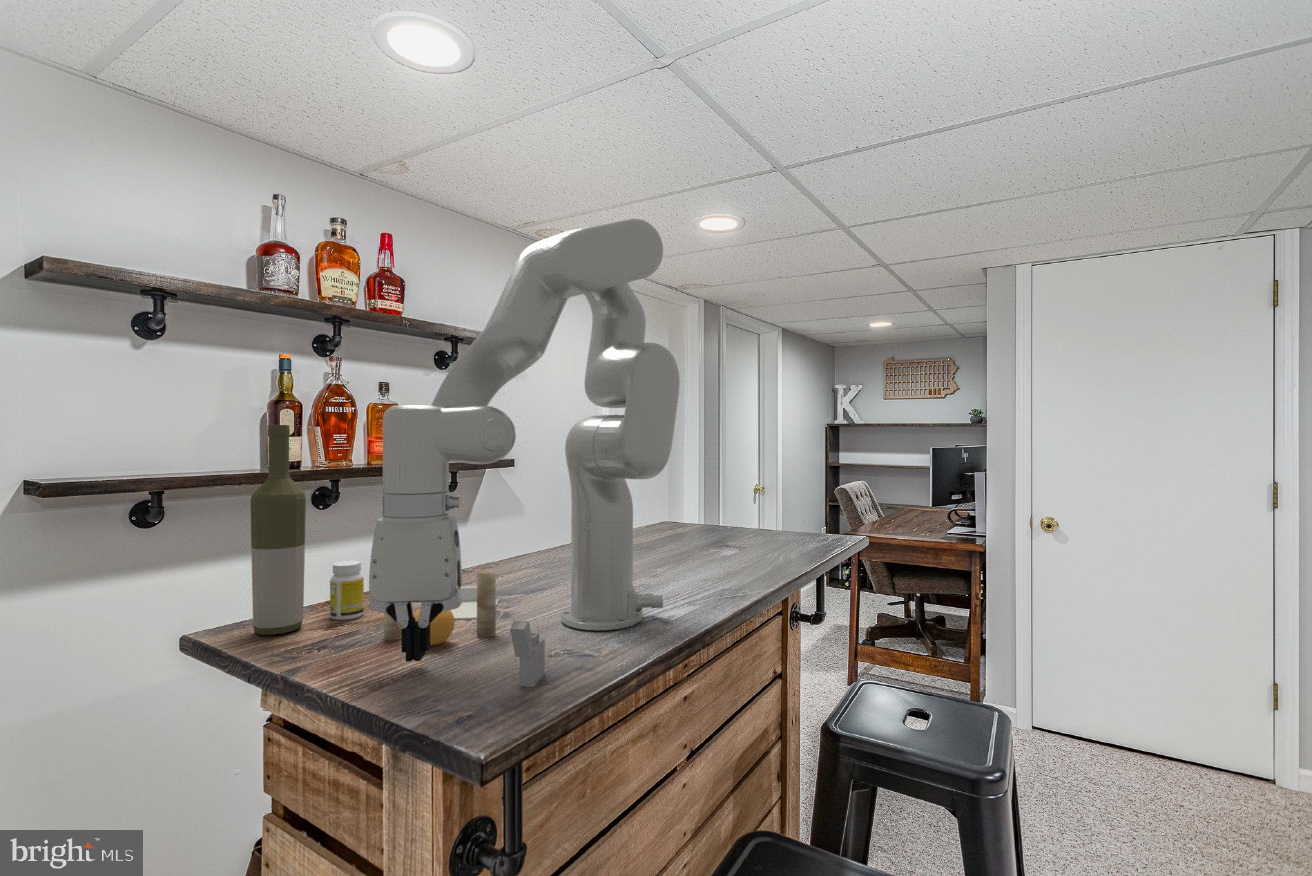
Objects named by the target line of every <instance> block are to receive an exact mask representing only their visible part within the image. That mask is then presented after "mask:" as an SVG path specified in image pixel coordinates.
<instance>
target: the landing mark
mask: <svg viewBox="0 0 1312 876" xmlns="http://www.w3.org/2000/svg"><path fill="white" fill-rule="evenodd" d="M499 602H500V599H499V598H498V599H497V598H496V606H497V605H498V603H499ZM451 612H452V614H453V616H454V620H472V619H474V620H475V619H476V620H477V601H469V602H462V604H461V605H460V607H459V608H456V609H453V610H451Z"/></svg>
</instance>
